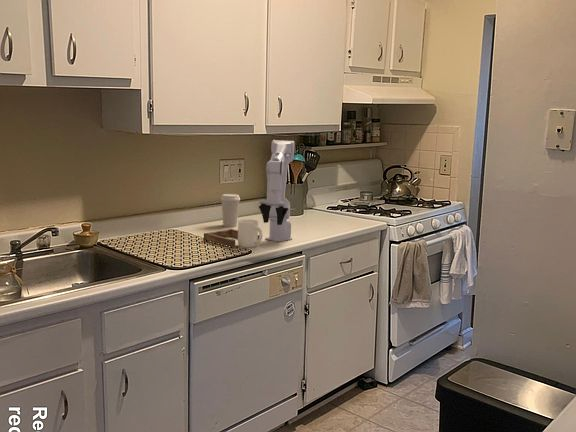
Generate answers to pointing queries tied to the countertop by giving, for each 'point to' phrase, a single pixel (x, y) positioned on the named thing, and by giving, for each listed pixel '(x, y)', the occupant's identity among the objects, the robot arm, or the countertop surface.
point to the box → (222, 237)
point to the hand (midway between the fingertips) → (272, 223)
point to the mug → (249, 233)
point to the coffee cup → (230, 209)
